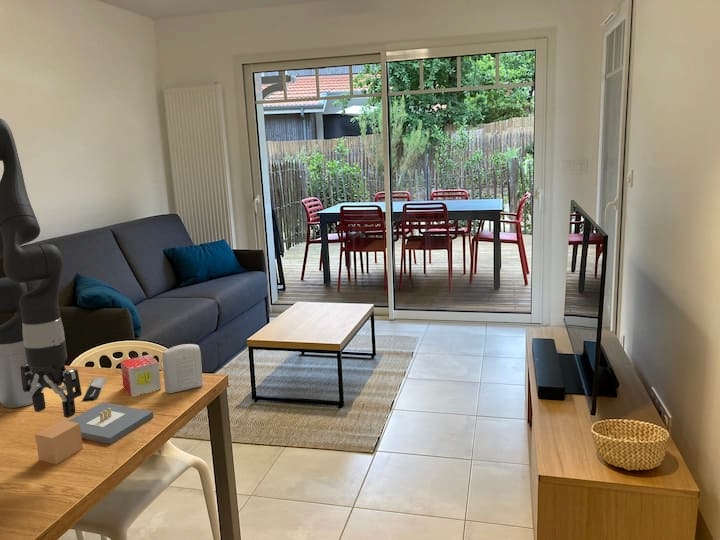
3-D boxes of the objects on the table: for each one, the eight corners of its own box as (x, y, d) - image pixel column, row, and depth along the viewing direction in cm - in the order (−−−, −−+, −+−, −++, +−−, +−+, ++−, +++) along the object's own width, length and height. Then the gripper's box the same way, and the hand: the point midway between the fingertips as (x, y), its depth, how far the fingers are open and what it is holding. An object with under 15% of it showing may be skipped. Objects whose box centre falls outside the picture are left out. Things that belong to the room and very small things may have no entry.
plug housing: (39, 460, 125) (35, 434, 124) (66, 444, 132) (62, 419, 130) (56, 464, 123) (52, 438, 122) (82, 448, 130) (79, 423, 129)
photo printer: (200, 381, 165) (196, 339, 163) (205, 386, 162) (201, 343, 159) (163, 390, 160) (159, 347, 157) (167, 395, 156) (163, 351, 154)
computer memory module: (91, 378, 168) (107, 376, 168) (92, 381, 168) (107, 379, 169) (81, 399, 154) (97, 397, 154) (81, 403, 154) (97, 401, 155)
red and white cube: (131, 397, 156) (128, 369, 154) (123, 387, 162) (120, 360, 160) (161, 389, 160) (158, 362, 159) (152, 380, 167) (150, 354, 165)
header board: (57, 432, 137) (55, 418, 136) (103, 407, 150) (101, 394, 149) (110, 444, 131) (108, 429, 131) (153, 417, 144) (152, 403, 143)
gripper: (3, 343, 121) (15, 416, 124) (54, 350, 116) (65, 426, 119) (35, 332, 128) (45, 401, 131) (84, 338, 123) (94, 410, 126)
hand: (55, 413), depth 125 cm, fingers open, 8 cm apart
